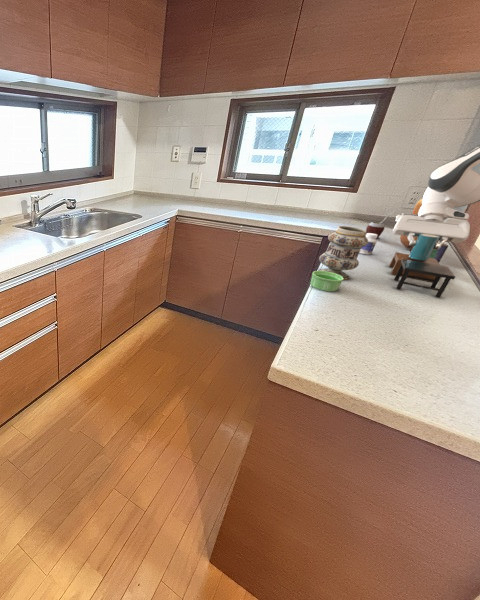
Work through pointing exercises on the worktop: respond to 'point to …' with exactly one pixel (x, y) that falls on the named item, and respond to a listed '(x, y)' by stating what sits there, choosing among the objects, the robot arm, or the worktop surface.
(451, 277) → the dark brown wooden table
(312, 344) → the worktop surface
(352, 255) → the apothecary jar
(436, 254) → the flask
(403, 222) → the robot arm
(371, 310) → the worktop surface
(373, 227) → the mate gourd
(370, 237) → the pill bottle
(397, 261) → the brown display stand
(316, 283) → the ramekin
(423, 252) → the cup
